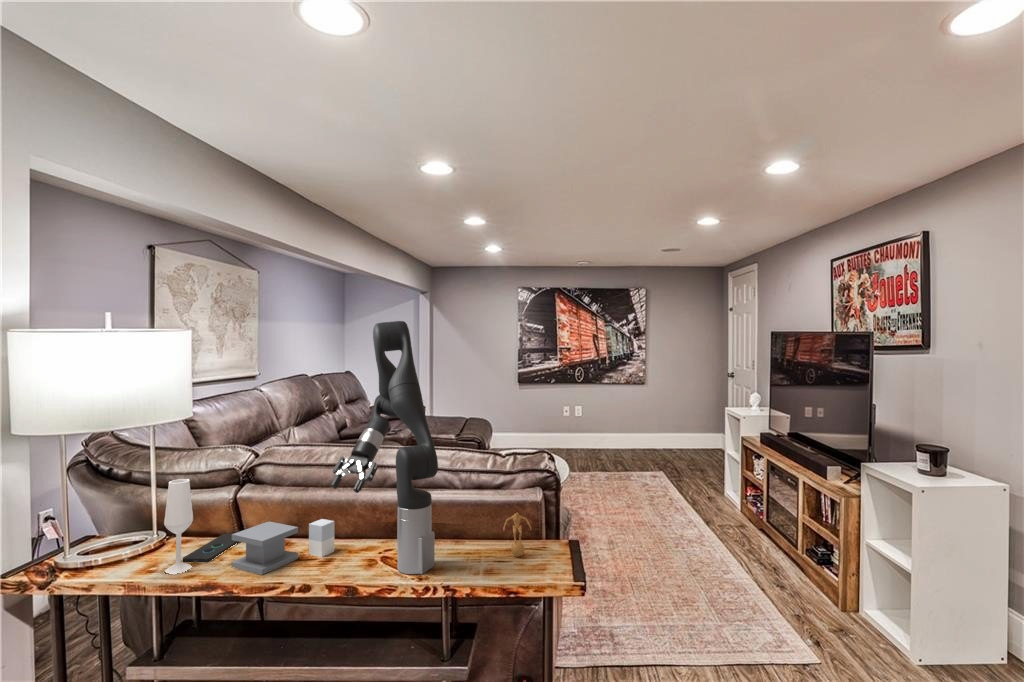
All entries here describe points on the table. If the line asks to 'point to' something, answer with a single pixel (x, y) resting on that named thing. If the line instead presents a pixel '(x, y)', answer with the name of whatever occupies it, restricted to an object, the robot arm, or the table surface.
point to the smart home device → (211, 549)
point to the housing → (321, 537)
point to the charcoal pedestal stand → (265, 547)
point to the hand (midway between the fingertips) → (344, 489)
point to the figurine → (517, 547)
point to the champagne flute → (178, 518)
